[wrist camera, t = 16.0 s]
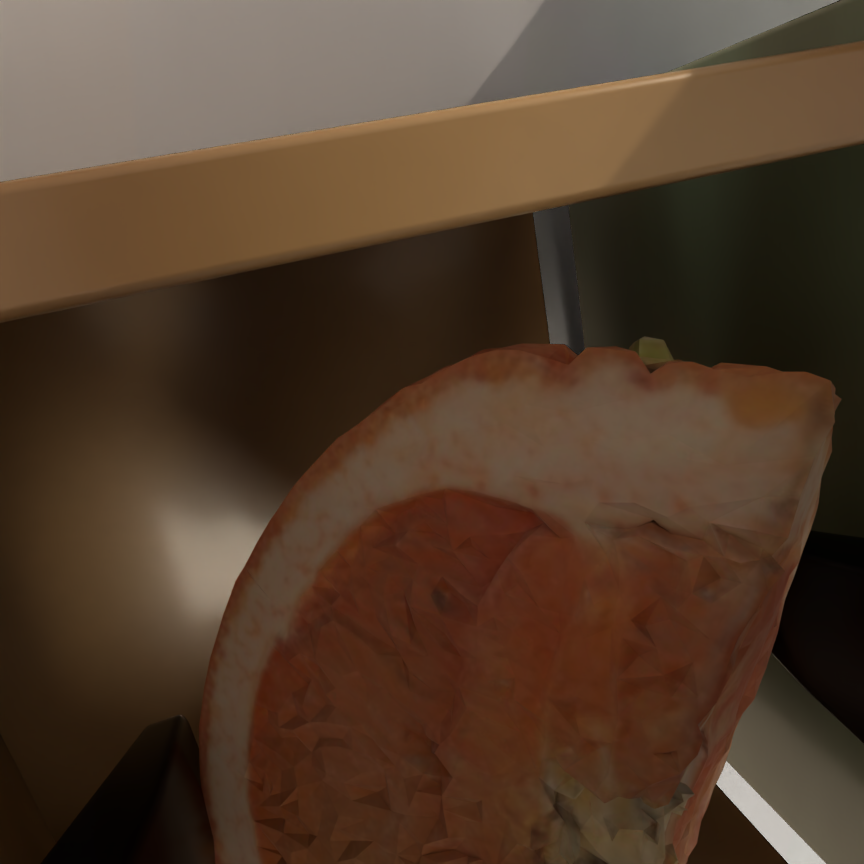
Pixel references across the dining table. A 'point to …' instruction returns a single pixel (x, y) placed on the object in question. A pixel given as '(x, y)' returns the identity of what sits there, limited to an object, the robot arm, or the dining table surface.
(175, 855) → the robot arm
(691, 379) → the fruit slice
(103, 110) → the dining table surface
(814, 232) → the drawer
